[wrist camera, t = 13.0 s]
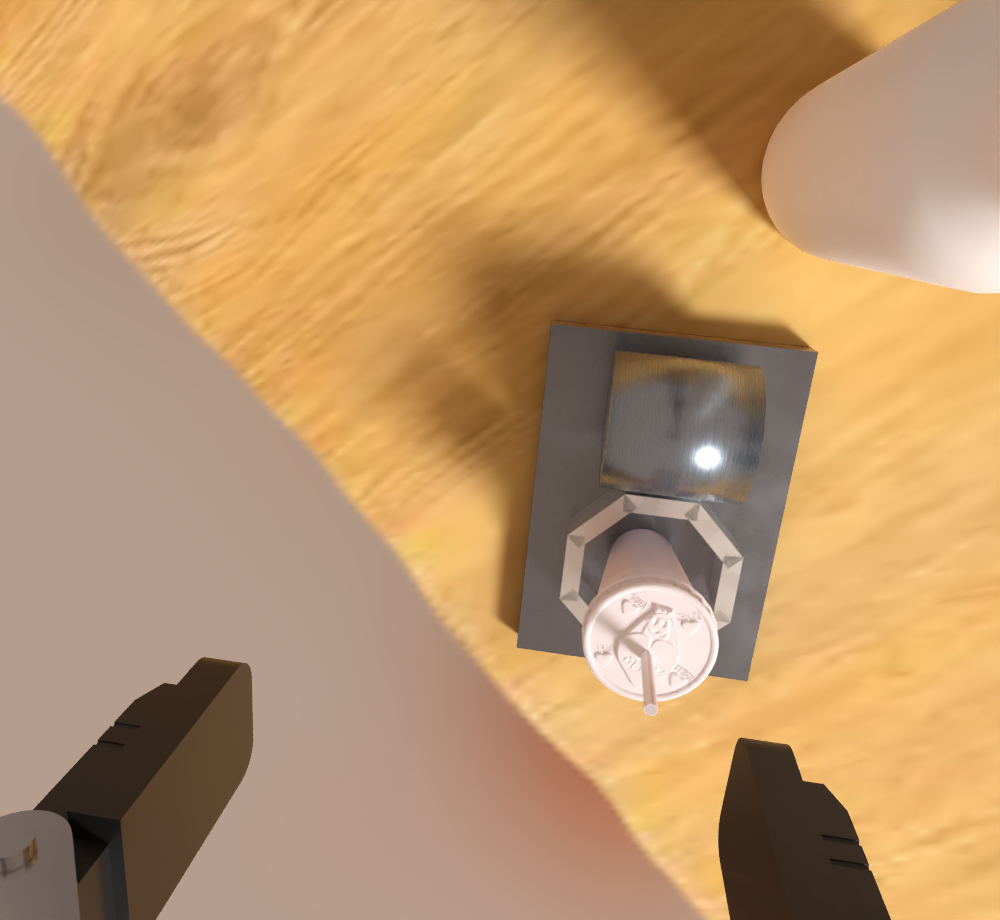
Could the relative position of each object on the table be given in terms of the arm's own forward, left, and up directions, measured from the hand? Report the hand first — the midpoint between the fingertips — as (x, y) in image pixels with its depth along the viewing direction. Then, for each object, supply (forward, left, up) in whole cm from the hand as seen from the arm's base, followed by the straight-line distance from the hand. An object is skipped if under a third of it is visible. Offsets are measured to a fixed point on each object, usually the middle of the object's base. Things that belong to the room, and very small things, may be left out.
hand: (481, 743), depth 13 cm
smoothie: (+11, +5, -32) cm, 34 cm away
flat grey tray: (+8, +6, -33) cm, 35 cm away
